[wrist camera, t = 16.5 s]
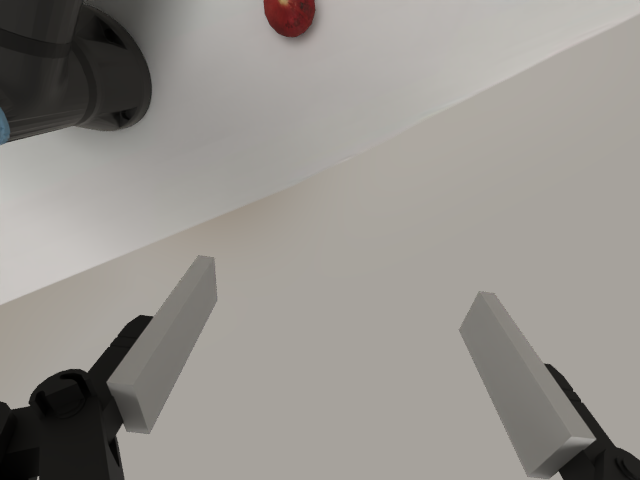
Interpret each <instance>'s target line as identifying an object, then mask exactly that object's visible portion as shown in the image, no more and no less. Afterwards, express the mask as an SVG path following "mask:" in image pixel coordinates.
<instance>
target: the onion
mask: <svg viewBox="0 0 640 480" xmlns="http://www.w3.org/2000/svg"><path fill="white" fill-rule="evenodd" d="M264 10H265V15H266V17H267V19H268V22H269V24H270V26H271V27H272V28H273V29H274V30H275V31H276V32H277V33H278V34H281V35H283V36H286V37H296V36H298V35H300V34H302V33H304V32H305V31H306V30H307V29H308V27H309V26H310V25H311V24H312V20H313V17H314V13H315V1H314V0H264Z"/></svg>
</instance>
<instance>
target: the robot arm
mask: <svg viewBox="0 0 640 480" xmlns="http://www.w3.org/2000/svg"><path fill="white" fill-rule="evenodd" d="M82 3H83V0H0V145H2V144H5V143H7V142H11V141H15V140H19V139H23V138H27V137H31V136H35V135H39V134H43V133H47V132H51V131H55V130H59V129H63V128H67V127H71V126H76V127H82V128H87V129H93V130H98V131H115V130H119V129H123V128H126V127H129V126H132V125H134V124H135V123H137V122H138V121H139V120H140V119H141V118H142V117H143V116H144V114H145V113H146V111H147V109H148V106H149V103H150V99H151V80H150V74H149V70H148V67H147V64H146V62H145V59H144V57H143V55H142V53H141V51H140V49H139V48H138V46H137V44H136V43H135V41H134V40H133V39H132V37H131V36H130V35H129V34H128V32H127V31H126V30H125V29H124V28H123V27H122V26H121V25H120V24H119V23H118V22H116V21H115V20H114V19H113V18H111V17H110V16H108V15H107V14H105V13H104V12H102V11H100V10H98V9H96V8H93V7H90V6H87V5H83V4H82ZM216 302H217V289H216V275H215V262H214V257H207V256H198V257H197V258H196V260H195V261H194V262H193V264H192V265H191V266H190V268H189V269H188V270H187V272H186V273H185V275H184V276H183V277H182V279H181V280H180V281H179V283H178V284H177V286H176V287H175V288H174V290H173V291H172V292H171V294H170V295H169V297H168V298H167V299H166V301H165V302H164V304H163V305H162V306H161V308H160V309H159V311H158V312H157V313H156V315H155V316H154V317H153V316H145V315H139V316H138V317H136V318H135V319H133V320H132V321H131V322H129V323H128V324H127V325H126V326H125V327H124V328H123V329H122V331H121V332H120V333H119V334H118V337H117V338H115V339H114V341H113V342H112V343H111V344H110V347H108V348H107V349H106V350H105V352H104V353H103V354H102V355H101V357H100V358H99V359H98V360H97V362H96V363H95V364H94V365H93V367H92V368H91V369H90V370H89V371H88V373H87V372H85V371H83V370H81V369H69V370H66V371H62V372H59V373H57V374H55V375H53V376H51V377H49V378H47V379H46V380H45V381H43V382H42V383H41V384H39V385H38V386H37V388H36V389H35V390H34V391H33V393H32V394H31V397H30V400H29V404H30V406H29V407H24V408H18V409H13V410H11V409H10V408H9V406H8V405H7V404H6V403H4V402H0V480H37V477H38V476H39V480H124V474H123V469H122V463H121V458H120V452H119V447H118V441H117V437H116V434H117V432H118V430H119V429H120V427H121V425H122V424H124V426H125V429H126V431H127V432H136V433H144V434H150V432H151V430H152V428H153V426H154V424H155V422H156V420H157V418H158V416H159V414H160V412H161V410H162V408H163V406H164V404H165V402H166V400H167V398H168V396H169V394H170V392H171V390H172V388H173V387H174V384H175V383H176V381H177V379H178V377H179V375H180V373H181V371H182V369H183V367H184V365H185V363H186V361H187V359H188V357H189V355H190V353H191V351H192V349H193V347H194V345H195V343H196V341H197V339H198V337H199V335H200V333H201V331H202V329H203V327H204V325H205V323H206V321H207V319H208V317H209V315H210V313H211V312H212V310H213V308H214V306H215V304H216ZM459 331H460V333H461V335H462V338H463V340H464V342H465V344H466V346H467V348H468V350H469V353H470V355H471V357H472V359H473V361H474V363H475V365H476V368H477V370H478V372H479V374H480V376H481V378H482V380H483V382H484V385H485V387H486V389H487V391H488V393H489V395H490V398H491V399H492V401H493V404H494V406H495V408H496V410H497V412H498V415H499V417H500V419H501V421H502V423H503V425H504V427H505V429H506V432H507V434H508V436H509V438H510V440H511V442H512V444H513V447H514V449H515V451H516V453H517V455H518V457H519V460H520V462H521V464H522V466H523V468H524V470H525V472H526V474H527V476H528V477H534V478H543V479H549V478H551V477H552V476H553V475H554V474H556V473H557V472H558V471H559V472H560V474H561V476H562V478H563V480H640V460H639V459H637V458H636V457H635V456H633V455H632V454H630V453H629V452H627V451H625V450H623V449H621V448H617V447H616V446H615V445H614V444H613V443H612V441H611V440H610V439H609V437H608V436H607V435H606V433H605V432H604V431H603V429H602V428H601V427H600V425H599V424H598V422H597V421H596V420H595V418H594V417H593V416H592V414H591V413H590V412H589V410H588V409H587V408H586V406H585V405H584V404H583V403H581V399H580V398H579V397H578V395H577V394H576V393H575V392H573V388H572V387H571V386H570V385H569V383H568V382H567V380H566V379H565V378H564V376H563V375H561V374H560V373H559V372H558V371H557V370H556V369H555V368H554V367H553V366H551V365H550V364H543V362H542V361H541V359H540V358H539V356H538V355H537V354H536V352H535V351H534V349H533V348H532V346H531V345H530V344H529V342H528V341H527V339H526V338H525V336H524V335H523V334H522V332H521V331H520V329H519V328H518V326H517V325H516V324H515V322H514V321H513V319H512V318H511V316H510V315H509V314H508V312H507V311H506V309H505V308H504V306H503V305H502V304H501V302H500V301H499V299H498V298H497V296H496V295H495V294H494V293H489V292H481V291H479V292H478V294H477V297H476V298H475V300H474V302H473V304H472V306H471V308H470V310H469V312H468V313H467V316H466V317H465V319H464V321H463V323H462V325H461V327H460V329H459Z"/></svg>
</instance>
